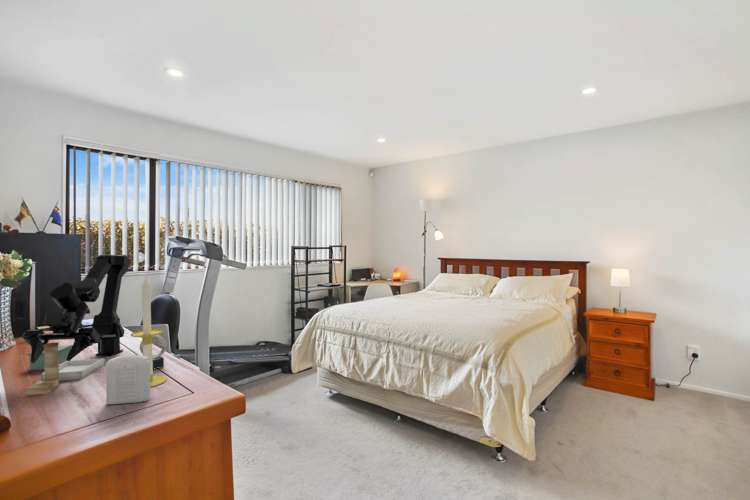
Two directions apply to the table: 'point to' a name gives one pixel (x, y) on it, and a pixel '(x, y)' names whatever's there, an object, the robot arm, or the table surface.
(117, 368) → the gravestone
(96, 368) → the tray
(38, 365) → the green lidded box
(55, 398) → the table surface
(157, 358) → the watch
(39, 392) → the tan cylinder with block
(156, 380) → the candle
